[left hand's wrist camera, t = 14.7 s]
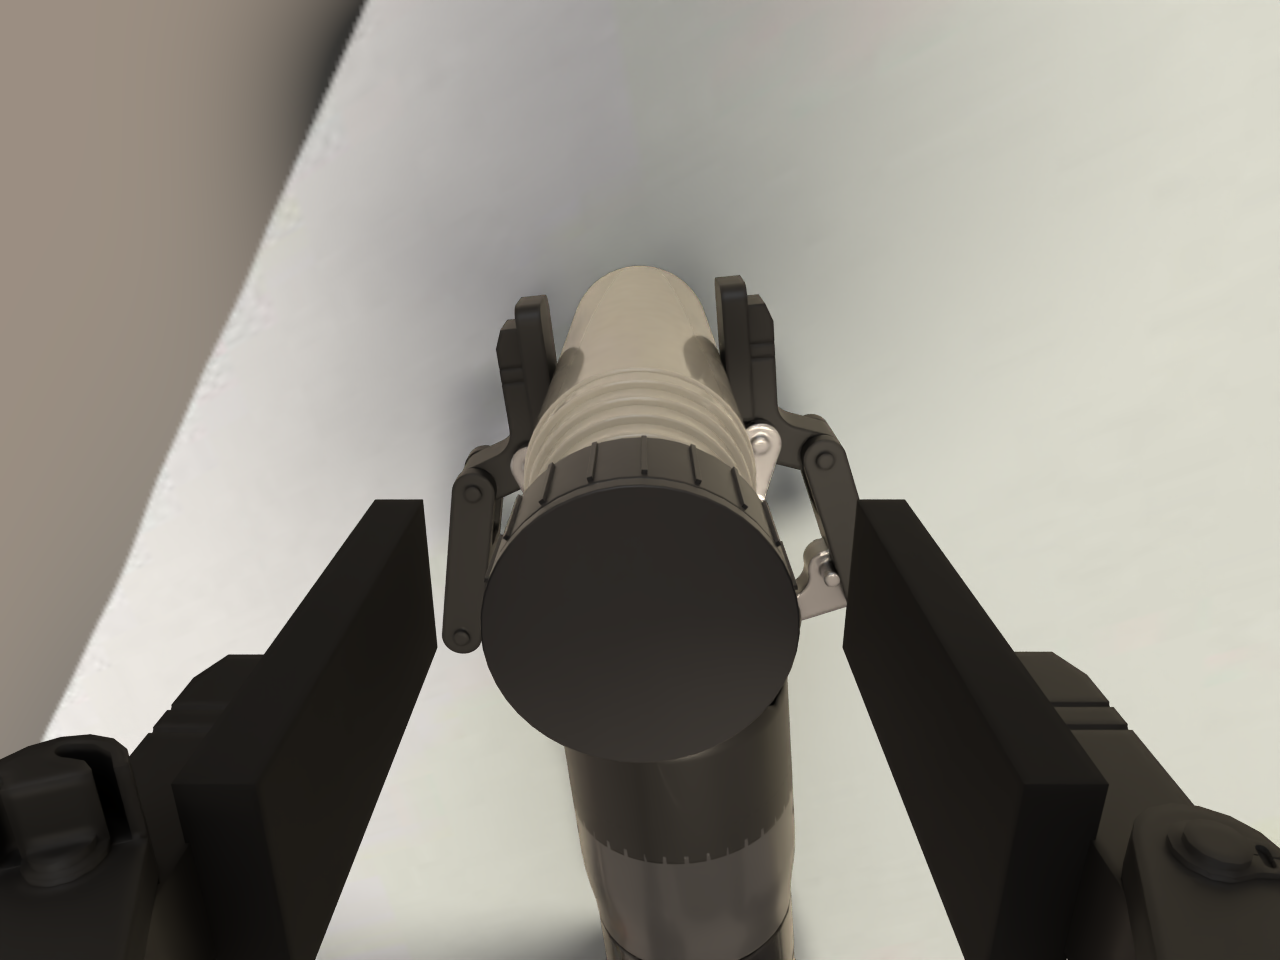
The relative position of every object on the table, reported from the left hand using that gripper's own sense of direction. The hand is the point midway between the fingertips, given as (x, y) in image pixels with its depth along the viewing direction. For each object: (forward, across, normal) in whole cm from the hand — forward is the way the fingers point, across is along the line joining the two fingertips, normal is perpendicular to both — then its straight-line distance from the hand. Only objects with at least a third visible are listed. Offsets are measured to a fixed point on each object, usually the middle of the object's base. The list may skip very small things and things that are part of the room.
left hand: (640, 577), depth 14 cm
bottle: (+18, 0, 0) cm, 18 cm away
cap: (-1, 0, 0) cm, 1 cm away
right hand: (+12, 0, -3) cm, 12 cm away
